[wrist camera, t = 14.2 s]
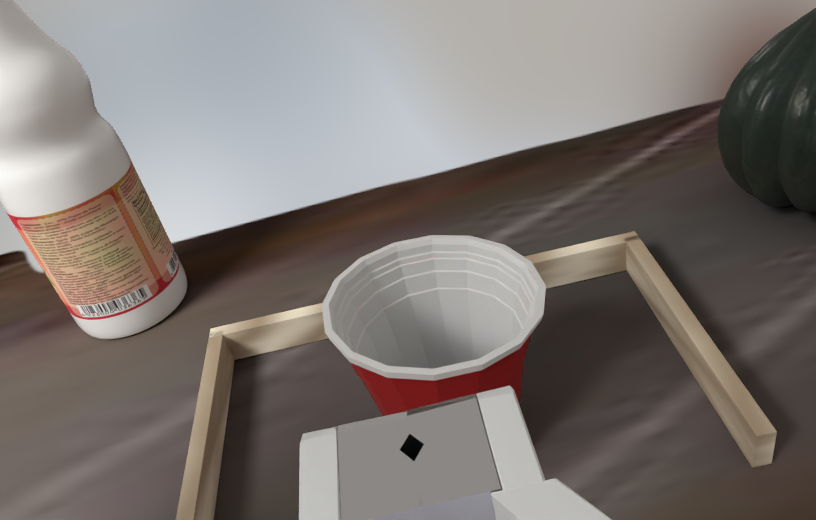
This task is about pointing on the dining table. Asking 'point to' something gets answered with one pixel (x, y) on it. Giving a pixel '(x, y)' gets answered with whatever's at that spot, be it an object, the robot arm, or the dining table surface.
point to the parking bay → (554, 270)
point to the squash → (775, 120)
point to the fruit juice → (78, 190)
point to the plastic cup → (435, 319)
